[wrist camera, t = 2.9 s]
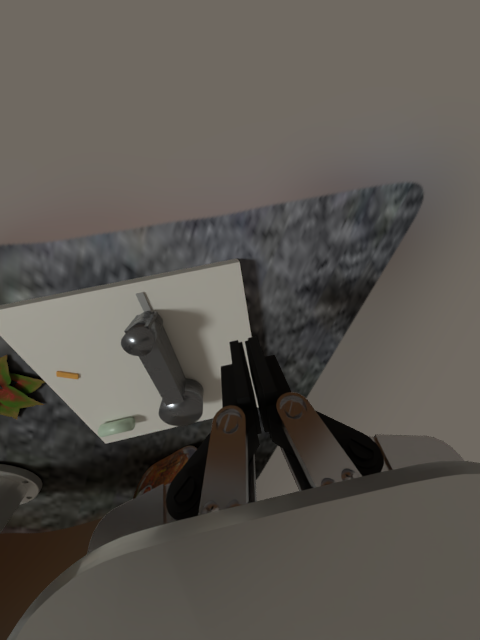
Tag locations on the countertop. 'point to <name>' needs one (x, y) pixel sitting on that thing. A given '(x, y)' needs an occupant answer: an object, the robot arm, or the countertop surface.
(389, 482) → the robot arm
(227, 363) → the base
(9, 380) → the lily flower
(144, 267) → the countertop surface
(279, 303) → the countertop surface
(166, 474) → the tin
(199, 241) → the countertop surface
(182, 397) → the grey knobbed bar
